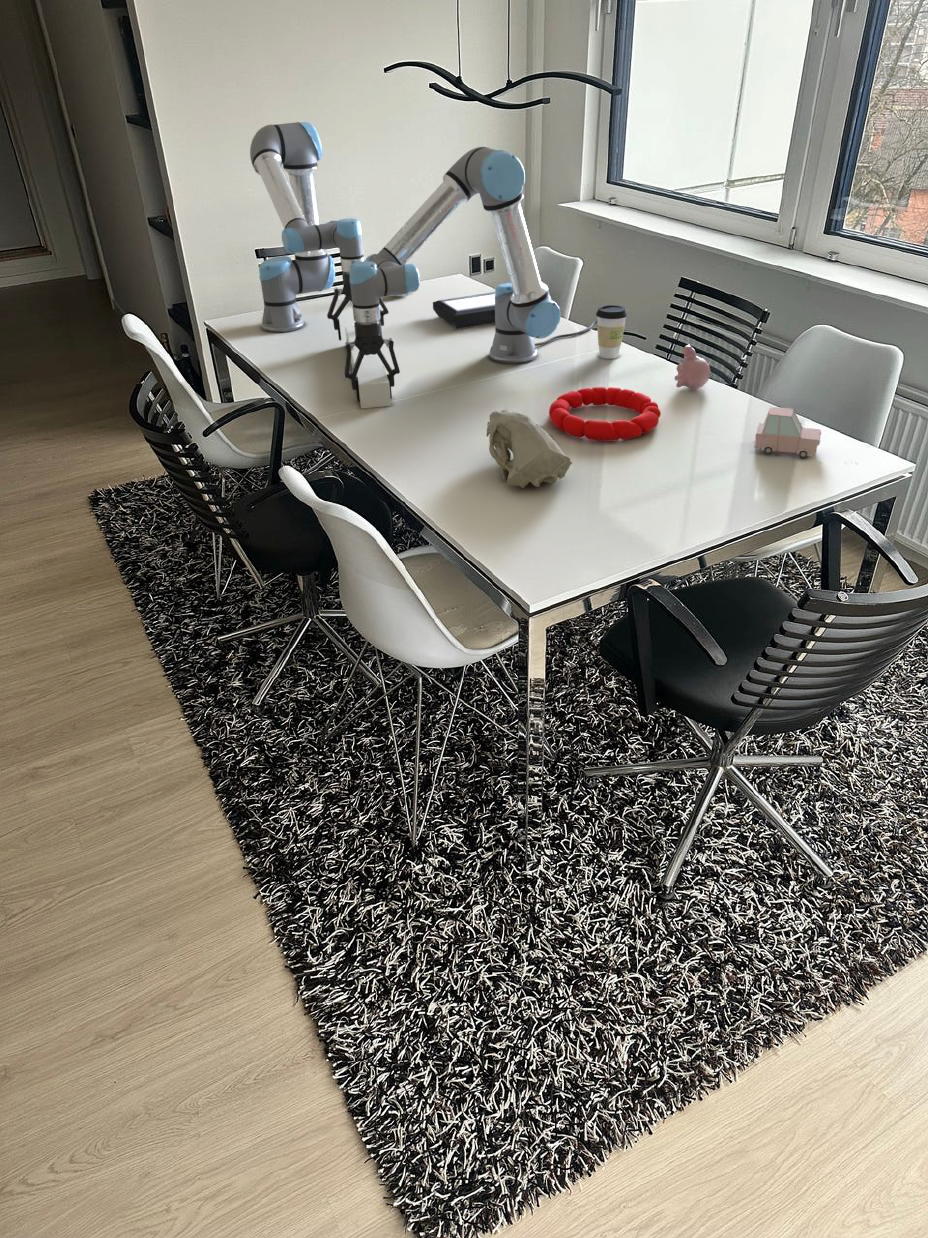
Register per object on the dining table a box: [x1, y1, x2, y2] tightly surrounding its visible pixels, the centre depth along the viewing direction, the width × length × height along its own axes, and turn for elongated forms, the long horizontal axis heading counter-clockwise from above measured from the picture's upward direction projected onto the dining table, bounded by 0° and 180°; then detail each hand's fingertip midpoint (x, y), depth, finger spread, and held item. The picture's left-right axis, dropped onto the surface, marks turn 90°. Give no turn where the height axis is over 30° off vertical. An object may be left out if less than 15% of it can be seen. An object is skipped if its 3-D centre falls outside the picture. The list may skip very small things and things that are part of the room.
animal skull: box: [485, 409, 573, 489], centre depth 216 cm, size 17×25×20 cm
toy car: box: [753, 406, 822, 459], centre depth 222 cm, size 9×15×10 cm, turn 70°
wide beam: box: [344, 323, 392, 409], centre depth 280 cm, size 60×9×7 cm, turn 10°
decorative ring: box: [548, 386, 661, 442], centre depth 242 cm, size 7×30×30 cm
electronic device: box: [432, 291, 495, 330], centre depth 326 cm, size 32×6×20 cm
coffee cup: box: [595, 304, 628, 360], centre depth 285 cm, size 10×10×15 cm
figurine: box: [674, 344, 711, 390], centre depth 259 cm, size 9×11×12 cm
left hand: (360, 337), depth 299 cm, fingers open, 13 cm apart
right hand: (374, 398), depth 262 cm, fingers closed on wide beam, 9 cm apart
